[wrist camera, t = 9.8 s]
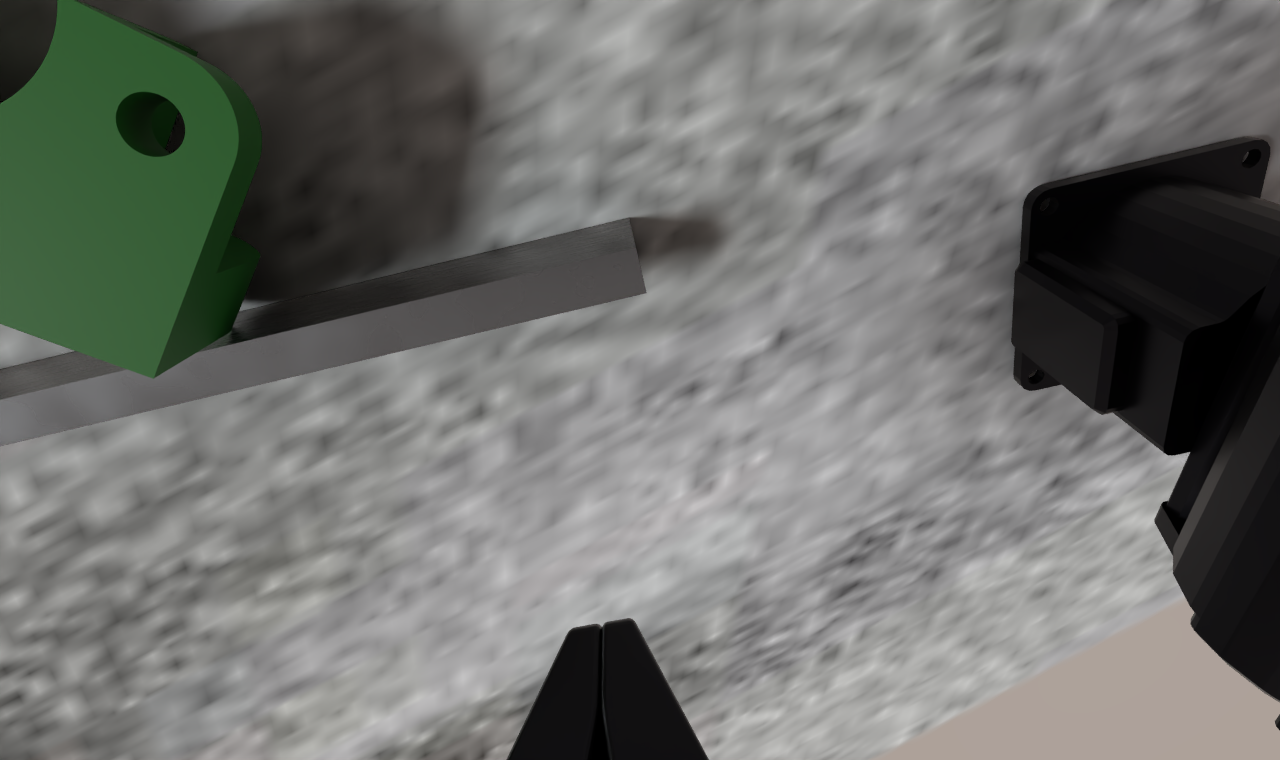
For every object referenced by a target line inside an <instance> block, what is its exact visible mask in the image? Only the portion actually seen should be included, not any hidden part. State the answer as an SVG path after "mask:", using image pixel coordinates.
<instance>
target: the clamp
mask: <svg viewBox="0 0 1280 760" xmlns="http://www.w3.org/2000/svg"><path fill="white" fill-rule="evenodd" d="M197 53H198V52H196V51H194V50H192V49H190V48H188V47H186V46H184V45H182V44H180V43H178V42H176V41H174V40H172V39H170V38H167V37H165V36H163V35H160V34H158V33H155V32H153V31H151V30H148V29H146V28H143V27H141V26H138V25H136V24H134V23H131V22H129V21H126V20H124V19H121V18H119V17H117V16H114V15H112V14H109V13H107V12H104V11H102V10H100V9H97V8H95V7H92V6H90V5H87V4H85V3H83V2H80V1H78V0H57V19H56V26H55V31H54V35H53V39H52V42H51V45H50V48H49V51H48V53H47V55H46V57H45V59H44V61H43V63H42V65H41V66H40V68H39V69H38V70H37V72H36V73H35V75H34V76H33V77H32V78H31V79H30V81H29V82H28V83H27V84H26V85H25V86H24V87H23V88H22V89H20V90H19V91H18V92H17V93H16V94H14V95H13V96H12V97H10V98H8V99H7V100H5V101H4V102H2V103H0V324H2V325H5V326H8V327H11V328H13V329H16V330H19V331H22V332H24V333H27V334H30V335H33V336H36V337H38V338H41V339H44V340H47V341H49V342H52V343H55V344H58V345H61V346H63V347H66V348H69V349H72V350H75V351H77V352H80V353H83V354H86V355H88V356H91V357H94V358H97V359H100V360H102V361H105V362H108V363H111V364H114V365H116V366H119V367H122V368H125V369H127V370H130V371H133V372H136V373H139V374H141V375H144V376H147V377H150V378H153V379H154V378H156V377H157V376H159V375H160V374H162V373H164V372H165V371H167V370H169V369H170V368H172V367H174V366H175V365H177V364H179V363H180V362H182V361H184V360H185V359H187V358H189V357H190V356H192V355H193V354H195V353H197V352H198V351H200V350H202V349H203V348H205V347H207V346H208V345H210V344H212V343H213V342H215V341H217V340H218V339H220V338H221V337H223V336H225V335H226V334H228V333H229V332H231V330H232V328H233V325H234V322H235V320H236V317H237V315H238V312H239V310H240V307H241V305H242V302H243V299H244V297H245V294H246V292H247V289H248V287H249V284H250V282H251V279H252V276H253V274H254V271H255V269H256V266H257V264H258V261H259V259H260V253H259V252H258V251H257V250H256V249H255V248H254V247H252V246H251V245H250V244H248V243H246V242H245V241H243V240H241V239H239V238H237V237H235V236H233V235H231V233H232V231H233V228H234V226H235V223H236V220H237V218H238V215H239V213H240V210H241V207H242V205H243V202H244V199H245V197H246V194H247V192H248V189H249V186H250V184H251V181H252V178H253V176H254V173H255V171H256V168H257V165H258V163H259V159H260V156H261V150H262V133H261V127H260V123H259V119H258V116H257V113H256V111H255V109H254V107H253V105H252V103H251V101H250V100H249V98H248V97H247V95H246V94H245V92H244V91H243V90H242V89H241V88H240V86H239V85H238V84H237V83H236V82H235V81H234V80H233V79H232V78H230V77H229V76H228V75H227V74H225V73H224V72H223V71H221V70H220V69H218V68H216V67H215V66H213V65H211V64H209V63H207V62H205V61H203V60H201V59H199V58H197ZM178 111H179V112H180V113H181V115H182V117H183V120H184V124H185V137H184V140H183V142H182V144H181V146H180V147H179V148H178V149H177V150H176V151H175V152H173V153H172V154H171V153H169V152H167V151H166V150H165V148H166V145H167V142H168V140H169V137H170V134H171V131H172V128H173V126H174V123H175V120H176V117H177V114H178Z"/></svg>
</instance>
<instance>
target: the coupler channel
mask: <svg viewBox="0 0 1280 760" xmlns="http://www.w3.org/2000/svg"><path fill="white" fill-rule="evenodd" d="M644 293H646V289H645V284H644V280H643V276H642V272H641V267H640V263H639V259H638V254H637V250H636V246H635V241H634V237H633V233H632V229H631V225H630V220H629V218H627V219H623V220H619V221H614V222H610V223H606V224H602V225H598V226H594V227H589V228H585V229H581V230H577V231H573V232H569V233H565V234H560V235H556V236H552V237H548V238H544V239H540V240H536V241H531V242H527V243H523V244H519V245H515V246H511V247H507V248H502V249H498V250H494V251H490V252H486V253H482V254H478V255H473V256H469V257H465V258H461V259H457V260H453V261H449V262H444V263H440V264H436V265H432V266H428V267H424V268H419V269H415V270H411V271H407V272H403V273H399V274H395V275H390V276H386V277H382V278H378V279H374V280H370V281H366V282H361V283H357V284H353V285H349V286H345V287H341V288H337V289H332V290H328V291H324V292H320V293H316V294H312V295H308V296H303V297H299V298H295V299H291V300H287V301H283V302H279V303H274V304H270V305H266V306H262V307H258V308H254V309H250V310H245V311H241V312H238V315H237V317H236V320H235V322H234V325H233V328H232V330H231V332H229V333H228V334H226V335H225V336H223V337H221V338H220V339H218V340H217V341H215V342H213V343H212V344H210V345H208V346H207V347H205V348H203V349H202V350H200V351H198V352H197V353H195V354H193V355H192V356H190V357H189V358H187V359H185V360H184V361H182V362H180V363H179V364H177V365H175V366H174V367H172V368H170V369H169V370H167V371H165V372H164V373H162V374H160V375H159V376H157V377H156V378H154V379H153V378H150V377H147V376H144V375H141V374H139V373H136V372H133V371H130V370H127V369H125V368H122V367H119V366H116V365H114V364H111V363H108V362H105V361H102V360H100V359H97V358H94V357H91V356H88V355H86V354H83V353H80V352H77V351H75V352H71V353H67V354H63V355H59V356H55V357H51V358H46V359H42V360H38V361H34V362H30V363H26V364H21V365H17V366H13V367H9V368H5V369H1V370H0V446H3V445H7V444H11V443H16V442H20V441H24V440H28V439H33V438H37V437H41V436H45V435H49V434H54V433H58V432H62V431H66V430H71V429H75V428H79V427H83V426H87V425H92V424H96V423H100V422H104V421H108V420H113V419H117V418H121V417H125V416H130V415H134V414H138V413H142V412H146V411H151V410H155V409H159V408H163V407H168V406H172V405H176V404H180V403H184V402H189V401H193V400H197V399H201V398H206V397H210V396H214V395H218V394H222V393H227V392H231V391H235V390H239V389H243V388H248V387H252V386H256V385H260V384H265V383H269V382H273V381H277V380H281V379H286V378H290V377H294V376H298V375H303V374H307V373H311V372H315V371H319V370H324V369H328V368H332V367H336V366H341V365H345V364H349V363H353V362H357V361H362V360H366V359H370V358H374V357H378V356H383V355H387V354H391V353H395V352H400V351H404V350H408V349H412V348H416V347H421V346H425V345H429V344H433V343H438V342H442V341H446V340H450V339H454V338H459V337H463V336H467V335H471V334H475V333H480V332H484V331H488V330H492V329H497V328H501V327H505V326H509V325H513V324H518V323H522V322H526V321H530V320H535V319H539V318H543V317H547V316H551V315H556V314H560V313H564V312H568V311H573V310H577V309H581V308H585V307H589V306H594V305H598V304H602V303H606V302H610V301H615V300H619V299H623V298H627V297H632V296H636V295H640V294H644Z"/></svg>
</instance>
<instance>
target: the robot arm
mask: <svg viewBox="0 0 1280 760" xmlns="http://www.w3.org/2000/svg"><path fill="white" fill-rule="evenodd" d="M1248 151H1249V154H1248V156H1247V158H1246V159H1245V160H1244V161H1243V162H1242V160H1243V157H1244V155H1245V154H1246V153H1247V152H1248ZM1269 157H1270V146H1269V144H1268V142H1266V141H1264V140H1262V139H1257V138H1252V137H1242V138H1238V139H1233V140H1229V141H1225V142H1221V143H1217V144H1212V145H1208V146H1204V147H1200V148H1196V149H1191V150H1187V151H1183V152H1179V153H1174V154H1170V155H1166V156H1162V157H1158V158H1153V159H1149V160H1145V161H1141V162H1137V163H1132V164H1128V165H1124V166H1120V167H1116V168H1111V169H1107V170H1103V171H1099V172H1095V173H1090V174H1086V175H1082V176H1078V177H1074V178H1069V179H1065V180H1061V181H1057V182H1053V183H1048V184H1044V185H1041V186H1039V187H1036V188H1034V189H1033V190H1032V191H1031V192H1030V193H1029V194H1028V195H1027V197H1026V199H1025V201H1024V205H1023V215H1022V232H1021V250H1020V264H1019V266H1018V268H1017V269H1016V271H1015V283H1014V301H1013V320H1012V339H1011V342H1012V344H1013V345H1014V346H1015V356H1014V373H1013V375H1014V379H1015V381H1016V382H1017V383H1018V384H1019V385H1021V386H1022V387H1023V388H1024V389H1026V390H1029V391H1033V390H1039V389H1044V388H1048V387H1052V386H1057V385H1061V384H1062V385H1063V386H1064V387H1065V388H1067V389H1068V390H1069V391H1070V392H1072V393H1073V394H1074V395H1075V396H1077V397H1078V398H1079V399H1080V400H1082V401H1083V402H1084V403H1085V404H1086V405H1088V406H1089V407H1090V408H1091V409H1093V410H1094V411H1096V412H1097V413H1099V414H1101V415H1104V414H1108V413H1114V414H1115V415H1117V416H1118V417H1119V418H1121V419H1122V420H1123V421H1124V422H1126V423H1127V424H1128V425H1129V426H1131V427H1132V428H1133V429H1135V430H1136V431H1137V432H1138V433H1140V434H1141V435H1142V436H1143V437H1145V438H1146V439H1147V440H1149V441H1150V442H1151V443H1152V444H1154V445H1155V446H1156V447H1158V448H1159V449H1160V450H1161V451H1163V452H1164V453H1165V454H1167V455H1178V454H1182V453H1187V452H1190V454H1189V456H1188V459H1187V461H1186V463H1185V465H1184V467H1183V470H1182V472H1181V474H1180V476H1179V478H1178V481H1177V483H1176V485H1175V487H1174V489H1173V492H1172V494H1171V496H1170V498H1169V500H1168V501H1166V502H1163V503H1162V504H1161V506H1160V509H1159V511H1158V513H1157V515H1156V517H1155V524H1156V525H1157V527H1158V529H1159V531H1160V533H1161V535H1162V537H1163V538H1164V540H1165V542H1166V544H1167V546H1168V548H1169V549H1170V551H1171V553H1172V555H1173V574H1174V576H1175V578H1176V580H1177V582H1178V584H1179V586H1180V588H1181V590H1182V592H1183V594H1184V596H1185V597H1186V599H1187V601H1188V603H1189V605H1190V607H1191V608H1192V609H1193V611H1194V614H1193V616H1192V618H1191V625H1192V627H1193V629H1194V631H1196V632H1197V634H1198V635H1199V636H1200V637H1201V638H1202V639H1203V640H1204V641H1205V642H1206V643H1207V644H1208V645H1209V646H1210V647H1211V648H1212V649H1213V650H1214V651H1215V652H1216V653H1217V654H1218V655H1219V656H1220V657H1221V658H1222V659H1223V660H1224V661H1225V662H1226V663H1227V664H1228V665H1229V666H1230V667H1231V668H1233V669H1234V670H1235V671H1237V672H1238V673H1239V674H1241V675H1242V676H1243V677H1244V678H1246V679H1247V680H1248V681H1249V682H1251V683H1252V684H1254V685H1255V686H1256V687H1258V689H1260V690H1261V691H1262V692H1264V693H1265V694H1267V695H1269V696H1270V697H1272V698H1273V699H1275V700H1277V701H1278V702H1280V205H1279V204H1276V203H1273V202H1269V201H1266V200H1263V199H1260V196H1261V192H1262V188H1263V183H1264V179H1265V174H1266V170H1267V166H1268V161H1269ZM1047 198H1050V202H1049V205H1048V206H1047V208H1046V209H1045V210H1043V211H1040V207H1041V204H1042V203H1043V201H1044V200H1045V199H1047ZM1035 370H1037V371H1036V373H1035V374H1034V375H1033V376H1032V377H1029V375H1030V374H1031V373H1032V372H1033V371H1035ZM1275 724H1276V726H1277V728H1278V729H1279V730H1280V715H1279V716H1278V718H1277V719H1276V721H1275ZM507 760H709V759H708V757H707V755H706V754H705V752H704V750H703V748H702V746H701V744H700V742H699V740H698V739H697V737H696V735H695V733H694V731H693V729H692V727H691V725H690V724H689V722H688V720H687V718H686V716H685V714H684V712H683V710H682V709H681V707H680V705H679V703H678V701H677V699H676V697H675V695H674V694H673V692H672V690H671V688H670V686H669V684H668V682H667V680H666V679H665V677H664V675H663V673H662V671H661V669H660V667H659V665H658V664H657V662H656V660H655V658H654V656H653V654H652V652H651V650H650V649H649V647H648V645H647V643H646V641H645V639H644V637H643V636H642V634H641V632H640V630H639V628H638V626H637V624H636V623H635V621H634V620H633V619H631V618H627V619H621V620H615V621H610V622H606V623H605V624H604V625H603V627H601V625H599V624H592V625H586V626H581V627H575V628H572V629H571V630H570V631H569V632H568V634H567V636H566V637H565V640H564V642H563V644H562V646H561V648H560V650H559V652H558V654H557V656H556V658H555V660H554V662H553V664H552V667H551V669H550V671H549V673H548V675H547V677H546V679H545V681H544V683H543V685H542V687H541V689H540V691H539V694H538V696H537V698H536V700H535V702H534V704H533V706H532V708H531V710H530V712H529V714H528V716H527V718H526V720H525V723H524V725H523V727H522V729H521V731H520V733H519V735H518V737H517V739H516V741H515V743H514V745H513V747H512V750H511V752H510V754H509V756H508V758H507Z"/></svg>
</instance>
